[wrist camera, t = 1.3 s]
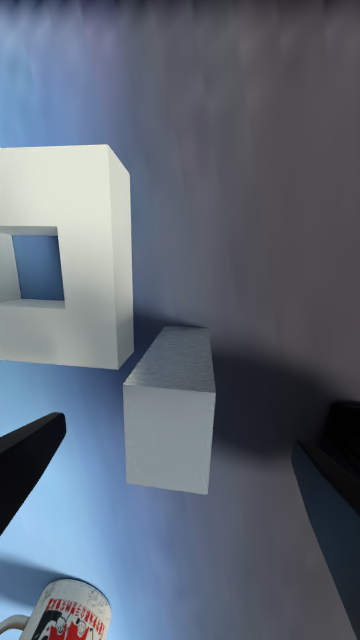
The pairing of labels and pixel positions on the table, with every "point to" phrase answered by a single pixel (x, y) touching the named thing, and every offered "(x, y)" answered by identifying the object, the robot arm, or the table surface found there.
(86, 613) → the teacup with lid
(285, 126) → the table surface
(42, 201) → the hub block
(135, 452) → the keyed peg
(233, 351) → the table surface
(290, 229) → the table surface
